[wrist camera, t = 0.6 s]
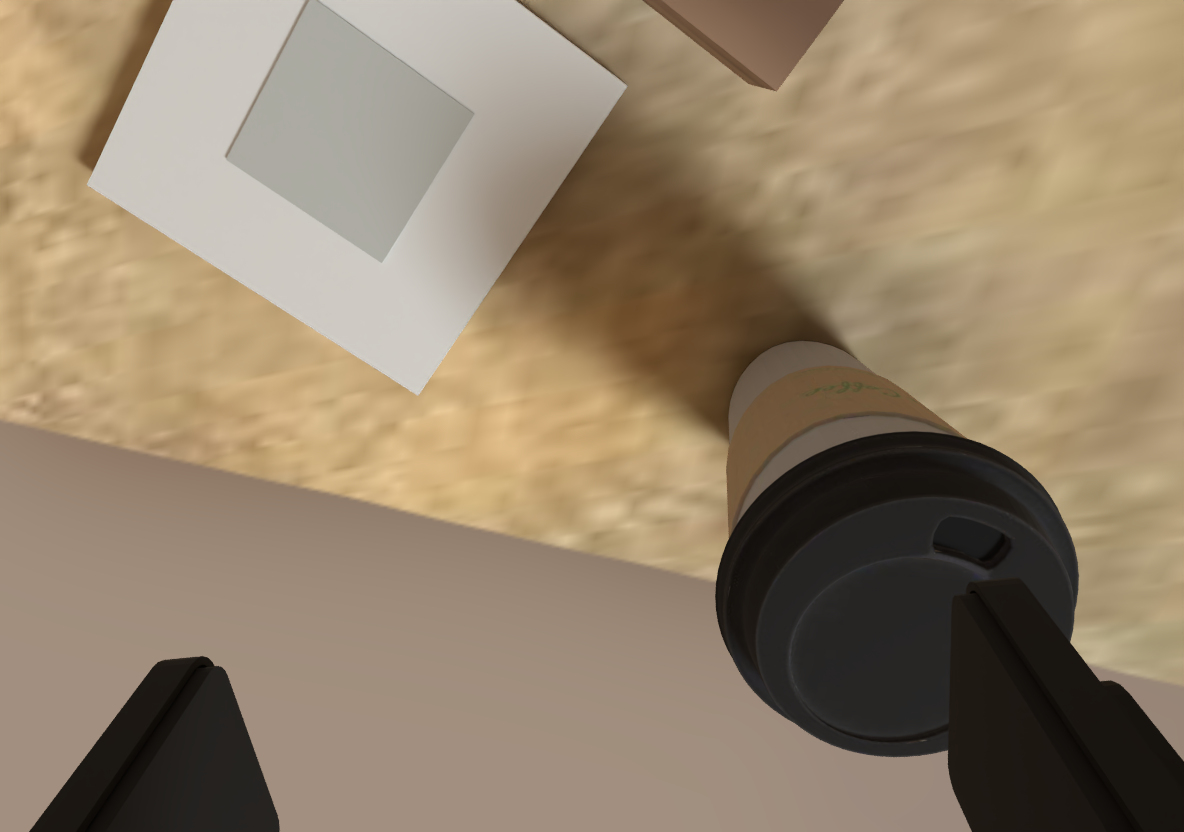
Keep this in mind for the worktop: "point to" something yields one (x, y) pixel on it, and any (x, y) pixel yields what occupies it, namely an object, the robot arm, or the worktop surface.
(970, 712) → the robot arm
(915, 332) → the worktop surface
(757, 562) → the coffee cup
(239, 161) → the plate
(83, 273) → the worktop surface
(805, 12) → the block walnut
